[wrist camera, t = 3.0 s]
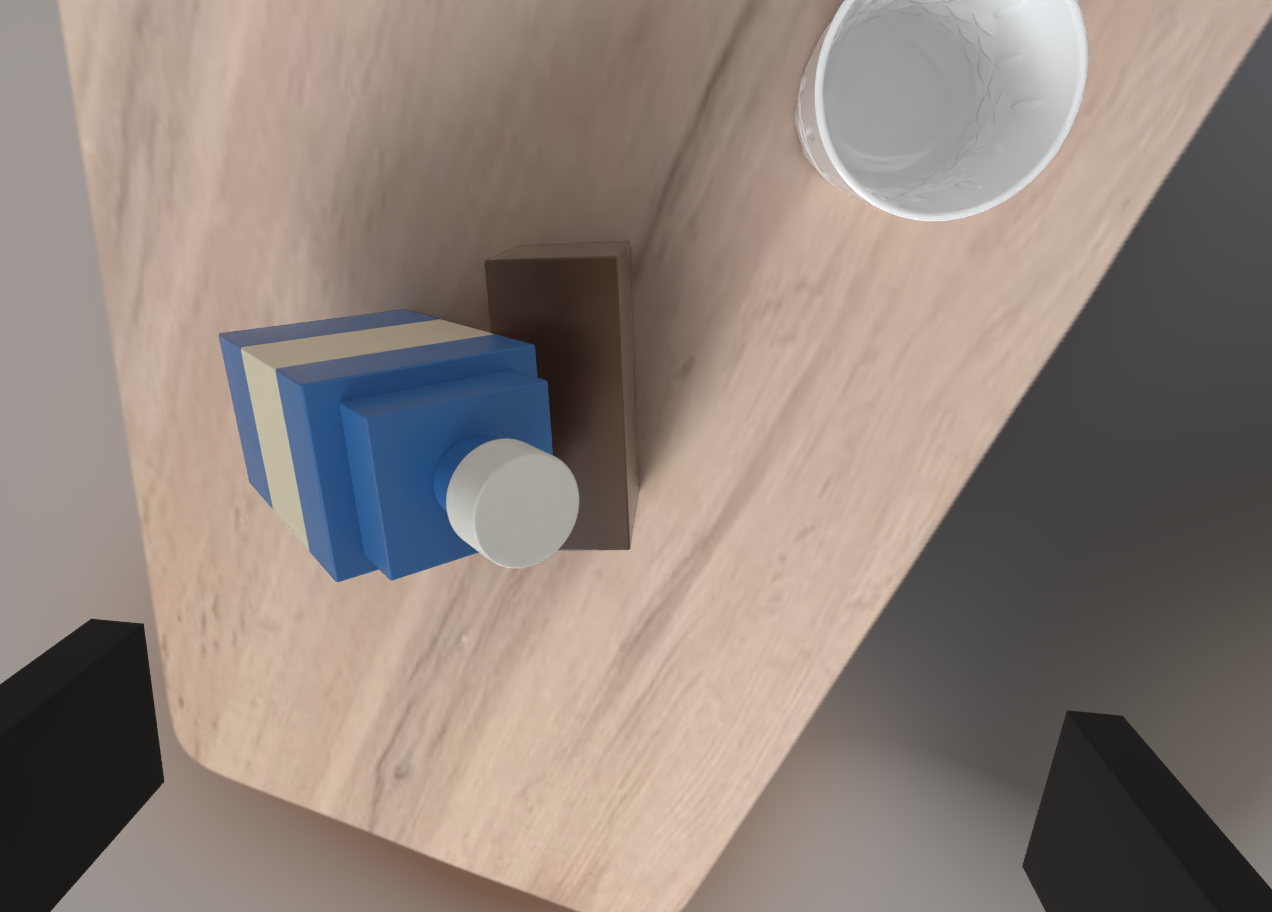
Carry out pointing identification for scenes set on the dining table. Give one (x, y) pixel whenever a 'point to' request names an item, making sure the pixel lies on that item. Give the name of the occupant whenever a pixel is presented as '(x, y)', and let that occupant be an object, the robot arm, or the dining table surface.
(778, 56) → the dining table surface
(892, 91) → the white cup
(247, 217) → the dining table surface
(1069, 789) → the robot arm
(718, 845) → the dining table surface
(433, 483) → the bottle
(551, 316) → the block
